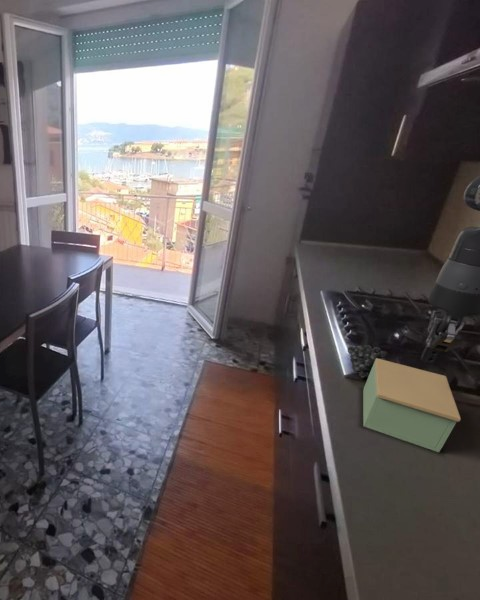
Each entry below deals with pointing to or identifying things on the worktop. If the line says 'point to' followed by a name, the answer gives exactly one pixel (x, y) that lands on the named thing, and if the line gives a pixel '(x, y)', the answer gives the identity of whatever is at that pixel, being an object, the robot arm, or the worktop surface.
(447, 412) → the bin lid
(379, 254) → the worktop surface
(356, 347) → the fruit
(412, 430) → the bin
